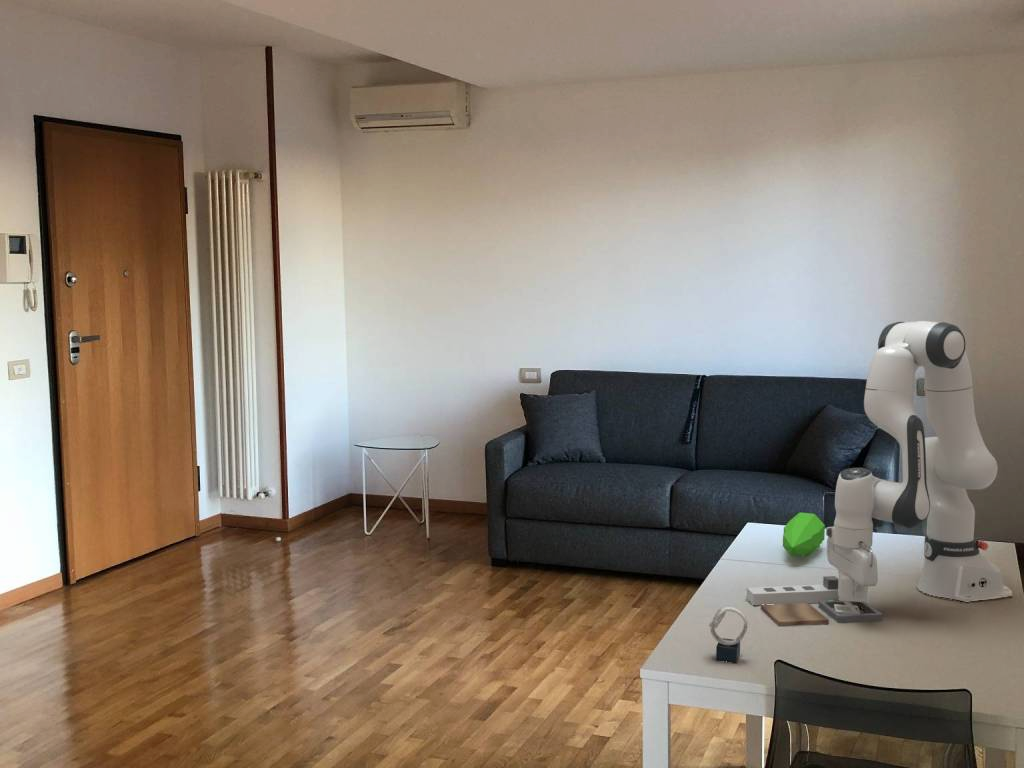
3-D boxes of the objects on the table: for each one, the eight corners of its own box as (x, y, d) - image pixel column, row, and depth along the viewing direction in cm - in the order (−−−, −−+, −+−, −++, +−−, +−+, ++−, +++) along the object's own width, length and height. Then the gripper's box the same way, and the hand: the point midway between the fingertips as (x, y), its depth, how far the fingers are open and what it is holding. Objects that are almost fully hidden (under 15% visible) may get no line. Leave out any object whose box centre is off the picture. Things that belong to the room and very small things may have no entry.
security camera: (866, 619, 251) (868, 578, 250) (836, 617, 252) (837, 576, 251) (863, 610, 257) (865, 570, 256) (833, 608, 258) (835, 568, 257)
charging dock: (861, 605, 261) (861, 598, 260) (882, 620, 250) (882, 613, 250) (818, 607, 259) (819, 600, 259) (837, 622, 248) (838, 615, 248)
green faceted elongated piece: (821, 502, 315) (804, 522, 288) (835, 539, 314) (819, 562, 287) (785, 513, 320) (764, 533, 293) (798, 550, 319) (779, 573, 292)
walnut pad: (808, 606, 260) (808, 602, 259) (828, 623, 248) (828, 619, 248) (760, 609, 258) (760, 605, 258) (779, 626, 246) (779, 621, 246)
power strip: (832, 595, 268) (833, 574, 267) (846, 606, 260) (847, 584, 259) (746, 599, 265) (746, 578, 265) (757, 610, 257) (758, 588, 257)
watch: (710, 650, 231) (711, 601, 230) (748, 655, 229) (749, 605, 227) (706, 659, 226) (707, 610, 225) (745, 664, 223) (746, 614, 222)
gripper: (886, 548, 242) (883, 606, 244) (847, 525, 263) (845, 579, 264) (859, 549, 242) (857, 608, 243) (822, 526, 262) (821, 580, 263)
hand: (850, 593), depth 254 cm, fingers closed on security camera, 5 cm apart
